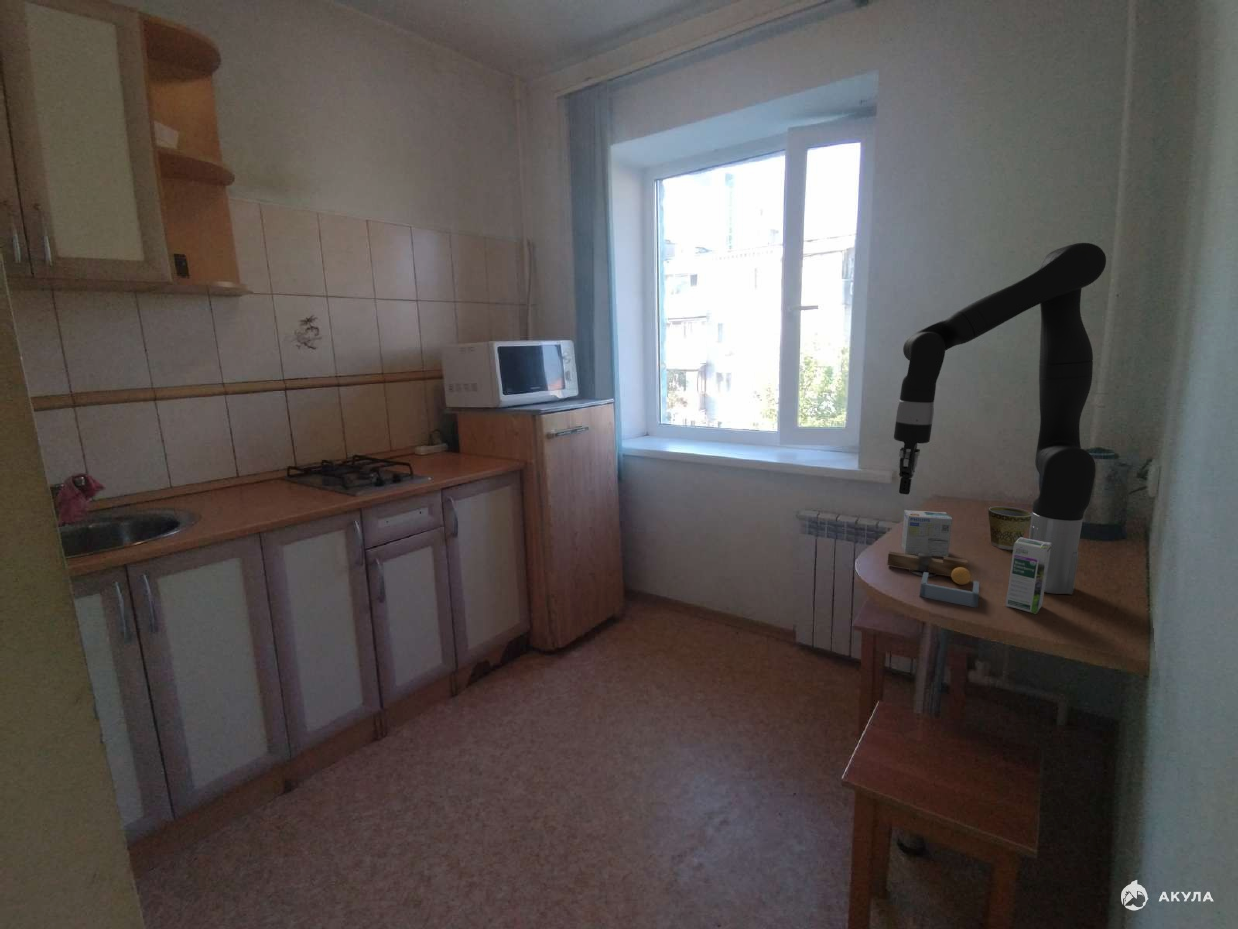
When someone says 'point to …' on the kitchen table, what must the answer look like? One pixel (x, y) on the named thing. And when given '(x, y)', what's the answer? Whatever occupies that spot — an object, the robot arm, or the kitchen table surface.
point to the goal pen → (949, 593)
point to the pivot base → (922, 573)
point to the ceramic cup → (1007, 525)
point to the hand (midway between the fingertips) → (904, 493)
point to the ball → (961, 575)
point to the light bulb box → (926, 533)
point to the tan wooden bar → (926, 563)
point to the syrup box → (1028, 574)
